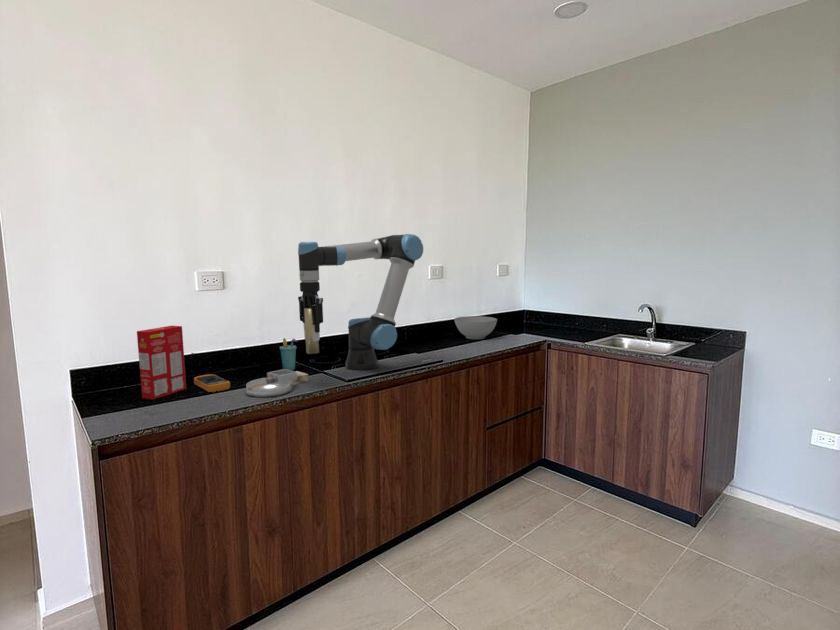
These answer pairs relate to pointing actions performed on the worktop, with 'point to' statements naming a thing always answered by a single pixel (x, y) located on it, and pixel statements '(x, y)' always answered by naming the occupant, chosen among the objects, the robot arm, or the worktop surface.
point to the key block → (300, 378)
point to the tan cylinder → (310, 333)
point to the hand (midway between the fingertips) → (312, 339)
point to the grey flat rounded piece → (272, 384)
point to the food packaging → (161, 361)
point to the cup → (288, 355)
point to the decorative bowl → (475, 326)
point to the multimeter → (211, 383)
